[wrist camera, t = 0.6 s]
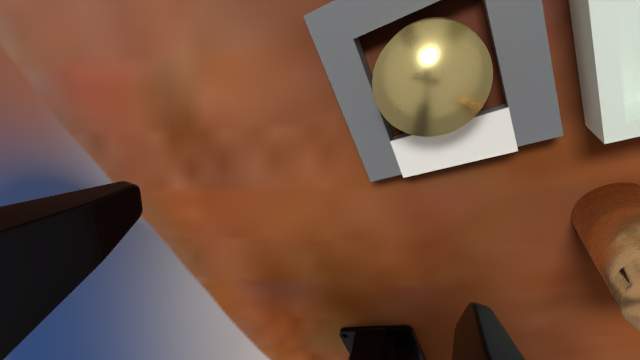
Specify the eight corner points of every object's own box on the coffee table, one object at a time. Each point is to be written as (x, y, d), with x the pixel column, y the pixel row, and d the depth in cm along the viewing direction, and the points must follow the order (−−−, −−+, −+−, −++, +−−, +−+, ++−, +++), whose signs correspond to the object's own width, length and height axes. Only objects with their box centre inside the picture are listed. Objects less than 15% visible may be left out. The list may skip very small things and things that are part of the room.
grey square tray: (556, 130, 17) (564, 140, 16) (374, 175, 22) (371, 185, 21) (519, -93, 14) (526, -100, 13) (310, 14, 18) (302, 16, 17)
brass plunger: (498, 105, 17) (504, 117, 15) (396, 135, 19) (392, 148, 17) (473, -5, 15) (477, -3, 13) (363, 43, 17) (356, 49, 16)
